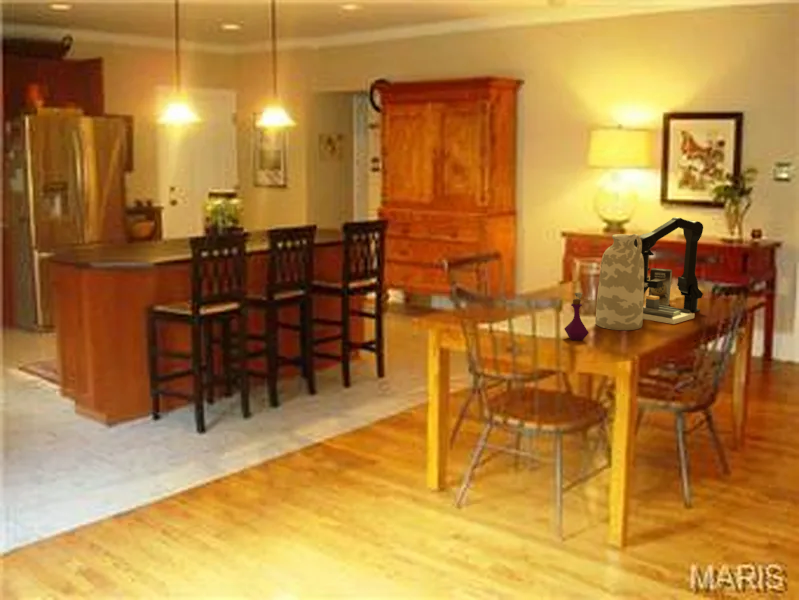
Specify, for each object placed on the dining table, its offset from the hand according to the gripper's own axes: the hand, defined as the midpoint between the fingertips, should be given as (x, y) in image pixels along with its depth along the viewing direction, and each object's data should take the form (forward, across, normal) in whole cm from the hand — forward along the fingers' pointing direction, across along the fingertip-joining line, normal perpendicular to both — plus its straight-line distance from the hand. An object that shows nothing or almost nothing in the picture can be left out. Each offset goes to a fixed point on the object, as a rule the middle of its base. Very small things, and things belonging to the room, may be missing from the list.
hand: (639, 301), depth 396 cm
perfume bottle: (+5, +10, -62) cm, 63 cm away
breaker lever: (+3, +6, 0) cm, 7 cm away
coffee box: (+6, -5, +26) cm, 27 cm away
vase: (+5, +8, -29) cm, 31 cm away
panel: (+5, +10, 0) cm, 12 cm away
